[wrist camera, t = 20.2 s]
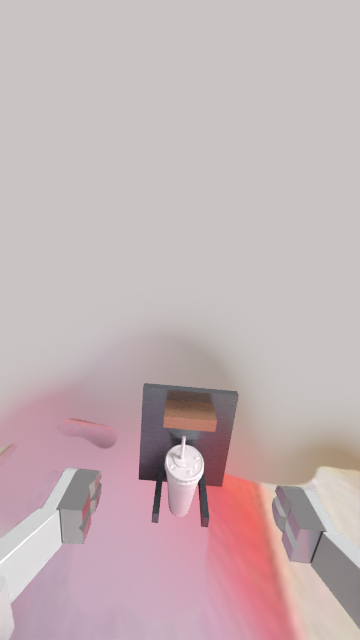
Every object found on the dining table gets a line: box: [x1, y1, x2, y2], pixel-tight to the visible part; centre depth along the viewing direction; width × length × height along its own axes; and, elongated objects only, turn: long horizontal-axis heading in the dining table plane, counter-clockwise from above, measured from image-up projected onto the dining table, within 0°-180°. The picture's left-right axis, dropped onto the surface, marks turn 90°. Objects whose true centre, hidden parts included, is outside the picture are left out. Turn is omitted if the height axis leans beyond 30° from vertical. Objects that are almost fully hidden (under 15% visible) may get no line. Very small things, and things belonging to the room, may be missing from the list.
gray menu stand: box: [139, 383, 238, 527], centre depth 34 cm, size 16×8×20 cm, turn 89°
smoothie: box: [165, 436, 204, 517], centre depth 33 cm, size 6×6×14 cm
